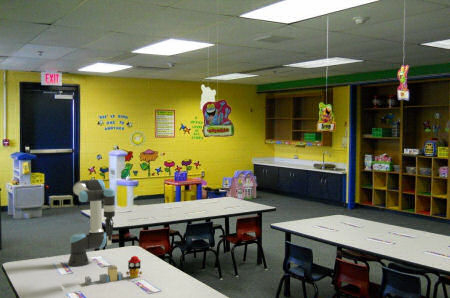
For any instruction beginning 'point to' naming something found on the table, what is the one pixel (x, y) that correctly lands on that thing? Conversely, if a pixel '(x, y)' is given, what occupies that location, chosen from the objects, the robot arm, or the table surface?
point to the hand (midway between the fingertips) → (109, 244)
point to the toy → (134, 267)
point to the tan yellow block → (112, 273)
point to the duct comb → (102, 279)
